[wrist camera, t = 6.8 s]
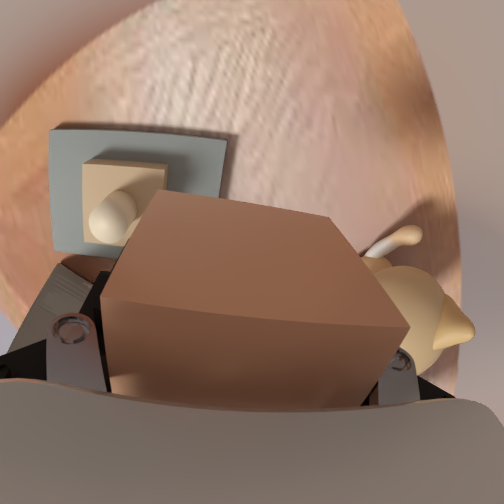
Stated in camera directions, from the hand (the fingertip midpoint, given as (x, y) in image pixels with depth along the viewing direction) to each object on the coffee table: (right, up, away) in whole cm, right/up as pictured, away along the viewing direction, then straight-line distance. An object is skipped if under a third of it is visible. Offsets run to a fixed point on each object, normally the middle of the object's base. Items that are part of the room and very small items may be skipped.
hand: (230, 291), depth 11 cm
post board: (-10, +6, +16) cm, 20 cm away
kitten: (+12, -1, +22) cm, 26 cm away
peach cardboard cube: (0, 0, +1) cm, 1 cm away
